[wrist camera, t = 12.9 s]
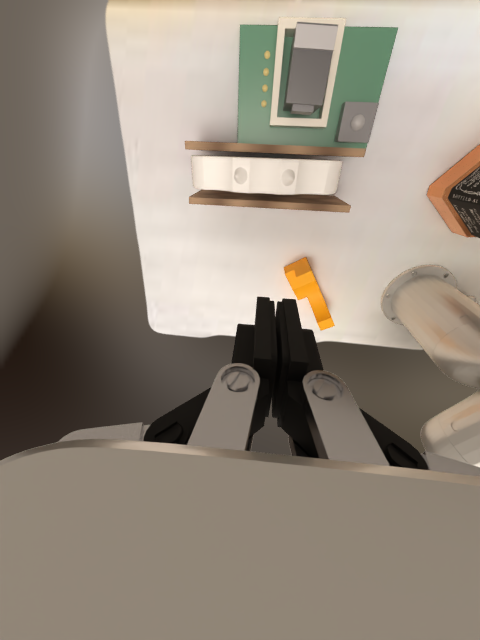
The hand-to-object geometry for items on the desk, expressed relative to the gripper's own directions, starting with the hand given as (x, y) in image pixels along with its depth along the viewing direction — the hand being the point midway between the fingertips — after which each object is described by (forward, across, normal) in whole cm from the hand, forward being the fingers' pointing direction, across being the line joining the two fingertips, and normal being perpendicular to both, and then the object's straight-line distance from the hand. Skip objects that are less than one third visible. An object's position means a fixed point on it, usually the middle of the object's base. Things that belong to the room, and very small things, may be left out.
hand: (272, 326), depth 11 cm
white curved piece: (+35, +1, -4) cm, 36 cm away
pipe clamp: (+36, -9, +15) cm, 40 cm away
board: (+35, -4, -13) cm, 38 cm away
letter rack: (+35, 0, -4) cm, 35 cm away
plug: (+34, -3, -14) cm, 37 cm away
